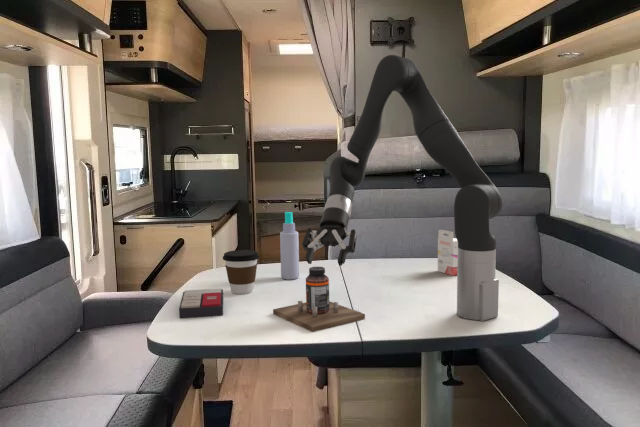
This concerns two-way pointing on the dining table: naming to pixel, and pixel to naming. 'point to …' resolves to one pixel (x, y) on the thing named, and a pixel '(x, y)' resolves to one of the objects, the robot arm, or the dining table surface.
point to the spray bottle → (289, 249)
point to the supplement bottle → (317, 290)
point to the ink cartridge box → (447, 253)
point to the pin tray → (318, 316)
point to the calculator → (201, 303)
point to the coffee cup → (241, 270)
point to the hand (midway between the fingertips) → (324, 263)
